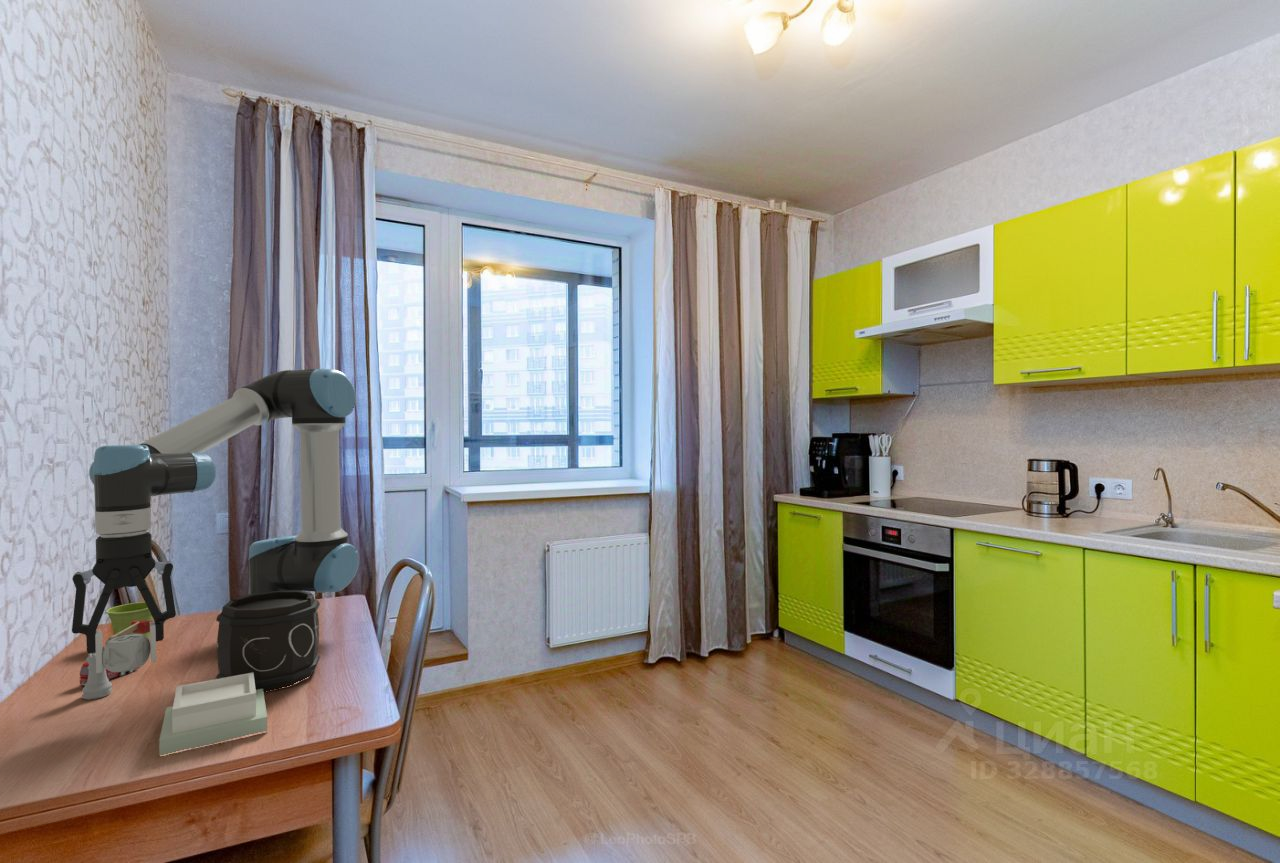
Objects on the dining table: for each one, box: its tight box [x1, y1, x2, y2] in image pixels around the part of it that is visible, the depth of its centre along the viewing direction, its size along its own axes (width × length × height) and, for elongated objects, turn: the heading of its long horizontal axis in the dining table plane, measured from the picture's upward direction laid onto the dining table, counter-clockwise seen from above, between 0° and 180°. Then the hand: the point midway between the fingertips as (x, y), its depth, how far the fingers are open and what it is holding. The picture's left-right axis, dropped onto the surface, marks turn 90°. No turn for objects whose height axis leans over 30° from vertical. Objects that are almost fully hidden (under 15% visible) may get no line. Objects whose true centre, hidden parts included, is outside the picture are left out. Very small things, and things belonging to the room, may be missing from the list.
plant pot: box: [105, 601, 159, 640], centre depth 148 cm, size 9×9×9 cm
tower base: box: [158, 673, 268, 755], centre depth 104 cm, size 14×14×7 cm
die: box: [102, 634, 151, 672], centre depth 110 cm, size 5×5×5 cm
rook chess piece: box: [81, 649, 113, 701], centre depth 118 cm, size 4×4×8 cm
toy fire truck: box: [79, 620, 155, 687], centre depth 128 cm, size 3×14×10 cm, turn 169°
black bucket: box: [215, 591, 321, 693], centre depth 126 cm, size 18×18×16 cm
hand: (126, 664), depth 110 cm, fingers closed on die, 7 cm apart
